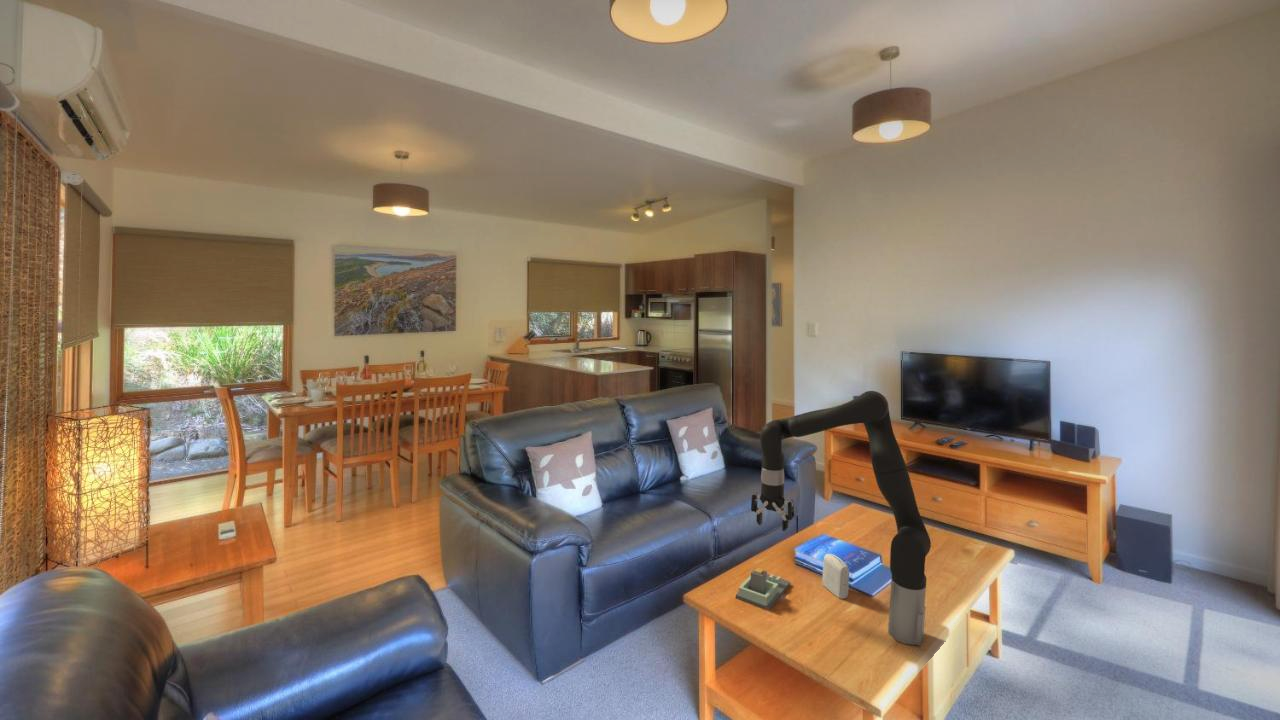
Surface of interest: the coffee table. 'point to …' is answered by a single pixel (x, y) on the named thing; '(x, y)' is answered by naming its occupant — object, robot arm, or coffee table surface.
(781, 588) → the board
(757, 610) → the coffee table surface
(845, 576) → the photo printer
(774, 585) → the end holder
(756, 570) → the block
